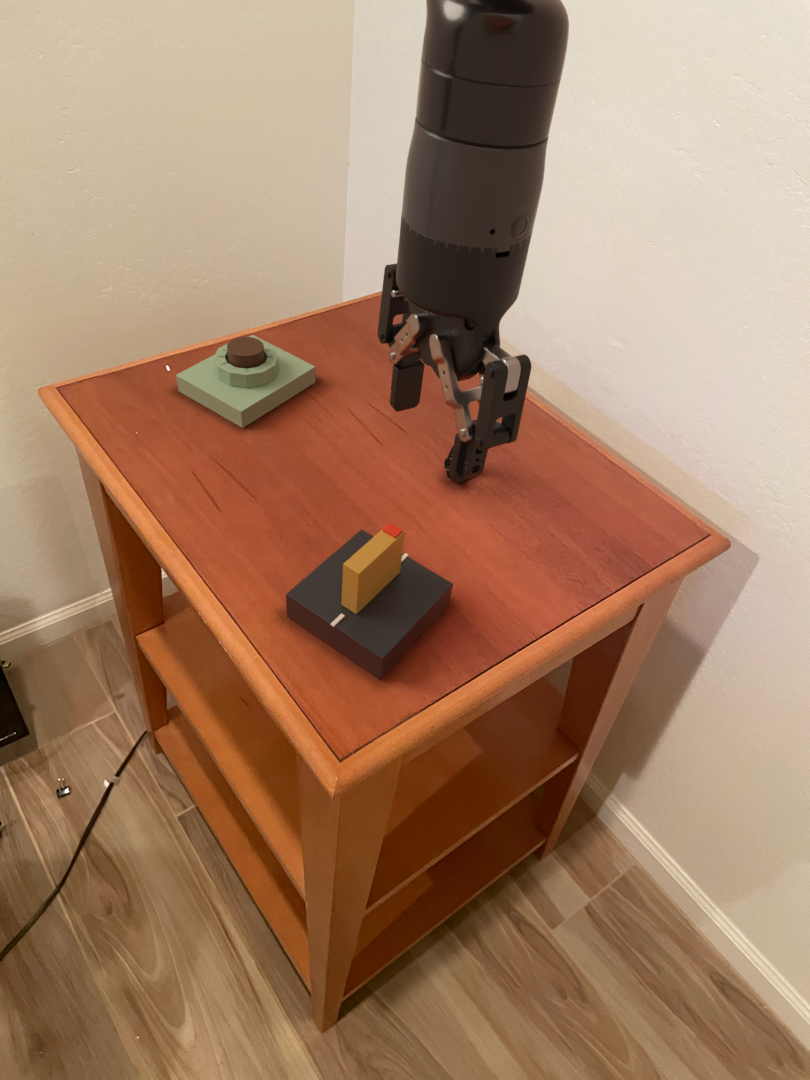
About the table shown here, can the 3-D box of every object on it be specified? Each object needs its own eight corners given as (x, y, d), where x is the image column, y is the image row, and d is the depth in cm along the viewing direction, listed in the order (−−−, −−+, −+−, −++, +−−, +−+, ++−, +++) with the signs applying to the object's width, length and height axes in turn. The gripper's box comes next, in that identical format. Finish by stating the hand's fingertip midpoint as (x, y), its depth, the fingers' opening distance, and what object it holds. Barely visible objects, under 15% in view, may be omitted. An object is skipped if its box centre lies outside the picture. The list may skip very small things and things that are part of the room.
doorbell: (242, 428, 79) (239, 397, 76) (178, 391, 83) (173, 360, 80) (315, 382, 86) (315, 352, 84) (253, 350, 90) (251, 320, 87)
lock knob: (356, 614, 59) (359, 571, 55) (341, 604, 60) (342, 561, 56) (400, 572, 63) (405, 529, 59) (385, 563, 63) (389, 520, 59)
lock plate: (379, 681, 58) (382, 658, 56) (285, 617, 62) (284, 593, 60) (449, 605, 65) (454, 581, 62) (360, 551, 68) (362, 527, 66)
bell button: (246, 374, 80) (245, 360, 79) (220, 360, 82) (219, 346, 80) (272, 359, 83) (271, 346, 81) (246, 346, 84) (245, 332, 83)
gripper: (352, 172, 44) (343, 397, 55) (481, 280, 36) (438, 518, 47) (458, 162, 47) (428, 377, 58) (599, 259, 39) (531, 487, 50)
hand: (432, 440), depth 53 cm, fingers open, 8 cm apart
